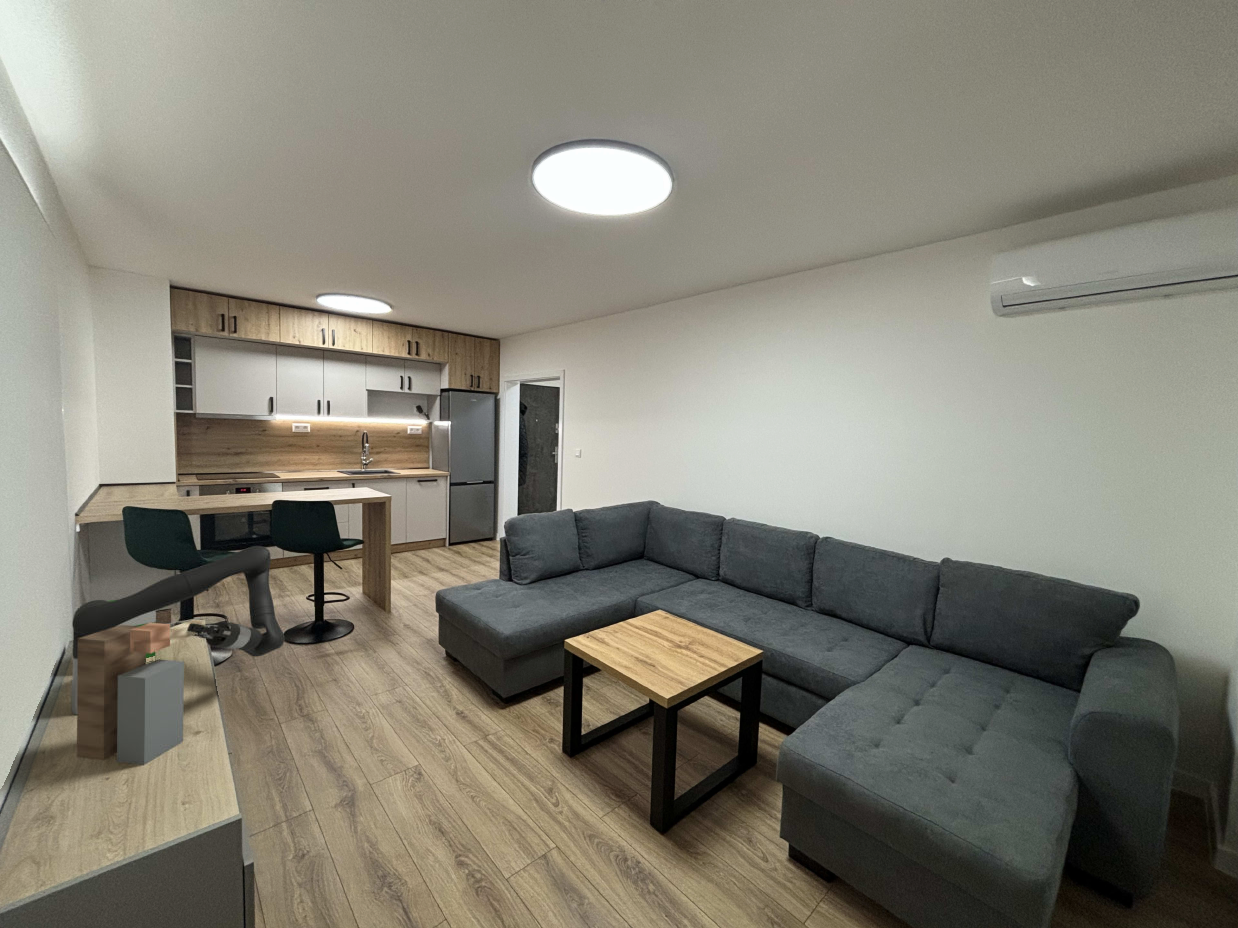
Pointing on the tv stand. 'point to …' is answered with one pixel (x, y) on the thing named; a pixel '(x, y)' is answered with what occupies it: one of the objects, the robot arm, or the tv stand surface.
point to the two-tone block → (158, 636)
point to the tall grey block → (150, 711)
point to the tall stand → (102, 688)
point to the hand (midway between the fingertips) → (182, 626)
